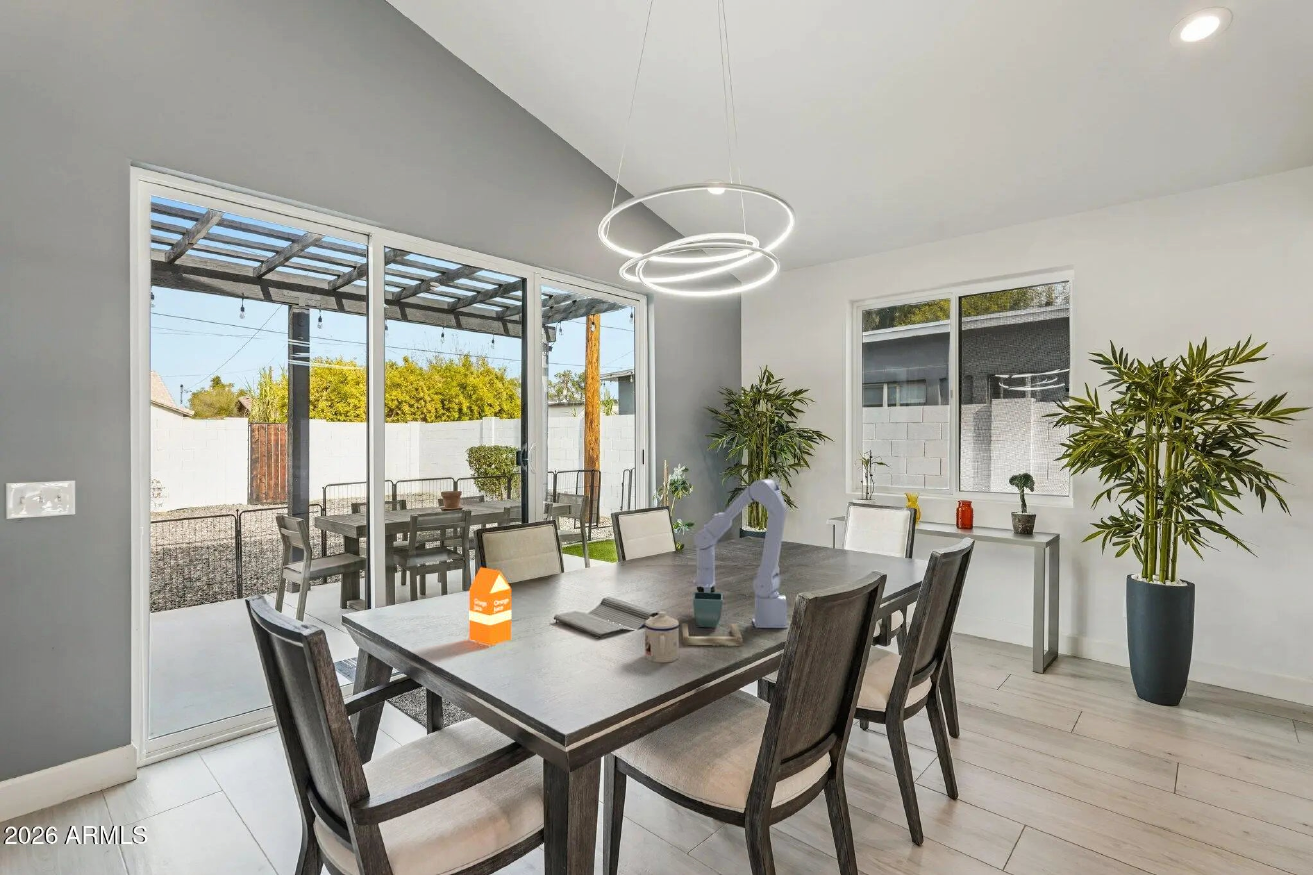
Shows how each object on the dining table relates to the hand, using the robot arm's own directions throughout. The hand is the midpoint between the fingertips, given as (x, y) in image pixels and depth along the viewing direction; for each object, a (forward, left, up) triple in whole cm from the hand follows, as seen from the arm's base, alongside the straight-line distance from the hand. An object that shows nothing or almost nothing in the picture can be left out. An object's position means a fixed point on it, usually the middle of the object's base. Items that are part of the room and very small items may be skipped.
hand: (705, 610), depth 197 cm
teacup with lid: (+14, +39, -2) cm, 41 cm away
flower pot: (0, +10, -2) cm, 10 cm away
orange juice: (+62, +25, -2) cm, 67 cm away
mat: (+31, +8, -3) cm, 32 cm away
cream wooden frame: (0, +21, -2) cm, 21 cm away
